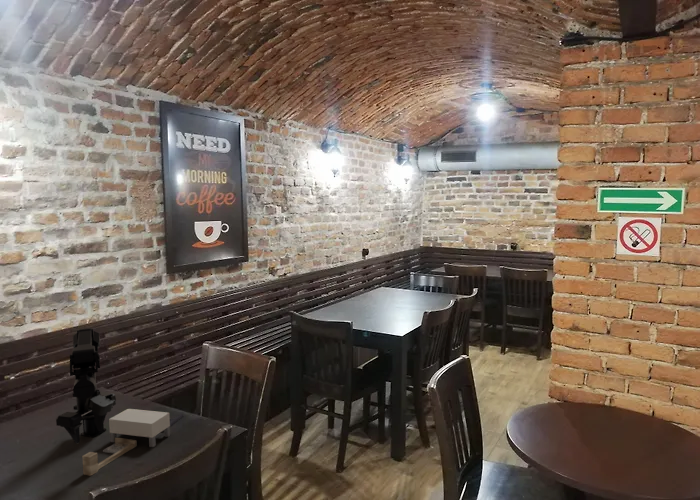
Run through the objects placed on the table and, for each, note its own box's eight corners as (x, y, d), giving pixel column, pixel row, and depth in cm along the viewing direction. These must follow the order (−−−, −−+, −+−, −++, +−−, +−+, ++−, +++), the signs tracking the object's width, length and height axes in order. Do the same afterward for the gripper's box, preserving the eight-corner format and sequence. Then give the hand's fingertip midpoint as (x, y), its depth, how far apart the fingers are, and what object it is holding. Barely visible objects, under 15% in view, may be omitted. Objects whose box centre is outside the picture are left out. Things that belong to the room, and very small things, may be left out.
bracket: (150, 416, 207) (149, 409, 207) (183, 418, 204) (183, 411, 204) (128, 431, 193) (128, 424, 193) (164, 433, 190) (163, 426, 190)
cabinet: (110, 442, 183) (109, 419, 182) (129, 430, 192) (128, 408, 192) (153, 447, 178) (151, 423, 177) (170, 435, 187) (169, 412, 187)
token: (103, 453, 175) (102, 450, 175) (116, 445, 181) (116, 442, 181) (117, 455, 173) (116, 452, 173) (129, 447, 179) (129, 444, 179)
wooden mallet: (67, 471, 162) (66, 453, 162) (117, 442, 182) (116, 426, 181) (90, 475, 159) (89, 457, 159) (138, 446, 179) (137, 429, 178)
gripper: (83, 401, 148) (87, 453, 149) (128, 380, 165) (130, 426, 167) (53, 398, 151) (56, 449, 152) (99, 378, 169) (102, 423, 170)
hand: (88, 436), depth 160 cm, fingers open, 9 cm apart
